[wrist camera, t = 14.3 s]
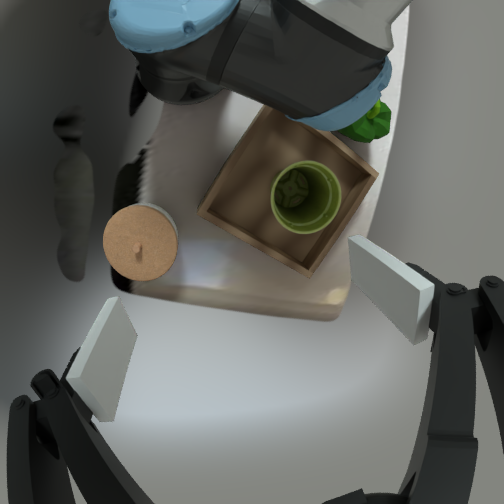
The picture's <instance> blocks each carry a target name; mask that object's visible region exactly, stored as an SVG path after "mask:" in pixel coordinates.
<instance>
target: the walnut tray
mask: <svg viewBox="0 0 504 504" xmlns="http://www.w3.org/2000/svg"><path fill="white" fill-rule="evenodd" d="M299 161H315V162H318V163H321V164H323V165H325V166H326V167H328V168H329V169H330V170H331V171H332V172H333V173H334V174H335V176H336V177H337V179H338V181H339V184H340V187H341V203H340V207H339V210H338V212H337V214H336V216H335V217H334V219H333V220H332V221H331V222H330V223H329V224H328V225H327V226H326V227H324V228H323V229H321V230H319V231H317V232H314V233H310V234H298V233H295V232H292V231H290V230H288V229H286V228H285V227H283V226H282V225H281V224H280V223H279V222H278V220H277V219H276V217H275V215H274V213H273V211H272V207H271V192H270V186H271V182H272V179H273V178H274V176H275V175H276V174H277V173H278V172H280V171H282V170H284V169H285V168H286V167H288V166H289V165H291V164H293V163H296V162H299ZM284 175H286V173H285V174H284ZM284 175H283V176H284ZM378 175H379V173H378V172H377V171H376V170H375V169H373V168H372V167H371V166H370V165H369V164H368V163H367V162H366V161H364V160H363V159H362V158H361V157H360V156H359V155H357V154H356V153H355V152H354V151H353V150H351V149H350V148H349V147H348V146H346V145H345V144H344V143H343V142H342V141H340V140H339V139H338V138H337V137H335V136H334V135H333V134H331V133H330V132H329V131H322V130H317V129H315V128H313V127H310V126H308V125H306V124H304V123H302V122H297V121H293V120H291V119H289V118H287V117H286V116H285V114H283V113H281V112H279V111H277V110H275V109H273V108H271V107H268V106H266V105H263V107H262V108H261V109H260V111H259V112H258V114H257V115H256V117H255V118H254V120H253V121H252V123H251V124H250V126H249V127H248V129H247V130H246V132H245V133H244V135H243V136H242V138H241V139H240V141H239V142H238V144H237V145H236V147H235V148H234V150H233V151H232V153H231V155H230V156H229V158H228V159H227V161H226V162H225V164H224V166H223V167H222V169H221V170H220V172H219V173H218V175H217V177H216V178H215V180H214V182H213V183H212V185H211V186H210V188H209V190H208V191H207V193H206V195H205V196H204V198H203V200H202V201H201V203H200V205H199V206H198V210H197V215H199V216H200V217H202V218H204V219H206V220H208V221H209V222H211V223H213V224H215V225H216V226H218V227H220V228H222V229H223V230H225V231H227V232H229V233H231V234H232V235H234V236H236V237H238V238H239V239H241V240H243V241H245V242H246V243H248V244H250V245H252V246H253V247H255V248H257V249H259V250H261V251H262V252H264V253H266V254H268V255H269V256H271V257H273V258H275V259H276V260H278V261H280V262H282V263H283V264H285V265H287V266H289V267H290V268H292V269H294V270H296V271H297V272H299V273H301V274H303V275H304V276H306V277H308V278H310V277H311V276H312V275H313V273H314V272H315V270H316V269H317V267H318V266H319V265H320V263H321V262H322V260H323V259H324V257H325V256H326V255H327V253H328V252H329V250H330V249H331V247H332V246H333V244H334V243H335V241H336V240H337V239H338V237H339V236H340V234H341V233H342V231H343V230H344V228H345V227H346V225H347V224H348V222H349V221H350V219H351V217H352V216H353V214H354V213H355V211H356V210H357V208H358V207H359V205H360V204H361V202H362V200H363V199H364V197H365V196H366V194H367V193H368V191H369V189H370V188H371V186H372V185H373V183H374V181H375V180H376V178H377V177H378ZM300 179H301V180H302V183H303V184H305V182H304V180H303V178H302V177H300ZM289 190H292V188H291V187H289ZM274 195H275V196H276V198H277V199H278V200H279V197H278V196H277V194H276V192H275V193H274ZM299 201H300V198H299V199H298V200H296V201H294V202H293V204H294V203H297V202H299Z"/></svg>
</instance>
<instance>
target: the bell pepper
mask: <svg viewBox="0 0 504 504" xmlns="http://www.w3.org/2000/svg"><path fill="white" fill-rule="evenodd" d="M390 120H391V110H390V109H389V108H388V106H387V105H386V104H385V103H383V102H381V101H380V98H379V100H378V101H377V102H376V104H375V105H374V106H373V107H372V108H371V109H370V110H369V111H368V112H367V113H366V114H365V115H363V116H362V117H361V118H360V119H358V120H357V121H355V122H354V123H352V124H351V125H349V126H347V127H344V128H342V129H339V130H338V132H340V133H341V134H343V135H345V136H347V137H348V138H350V139H352V140H355V141H358V142H364V143H370V142H371V141H372V140H373V139H379V138H381V137H383V136H385V135H387V134H388V133H389V130H390Z"/></svg>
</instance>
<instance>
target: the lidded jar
mask: <svg viewBox="0 0 504 504" xmlns="http://www.w3.org/2000/svg"><path fill="white" fill-rule="evenodd" d="M103 246H104V251H105V254H106V257H107V259H108V261H109V263H110V264H111V265H112V267H113V268H114V269H115V270H116V271H117V272H119V273H120V274H121V275H123V276H125V277H127V278H129V279H132V280H136V281H150V280H153V279H156V278H158V277H160V276H162V275H163V274H165V273H166V272H167V271H168V270H169V269H170V267H171V266H172V264H173V263H174V261H175V258H176V255H177V250H178V231H177V227H176V225H175V222H174V220H173V219H172V217H171V216H170V215H169V214H168V213H167V212H166V211H165V210H164V209H163V208H161V207H159V206H157V205H154V204H150V203H137V204H133V205H130V206H128V207H126V208H124V209H122V210H120V211H118V212H117V213H116V214H115V215H114V216H113V217H112V218H111V219H110V220H109V222H108V223H107V225H106V228H105V231H104V235H103Z"/></svg>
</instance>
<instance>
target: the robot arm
mask: <svg viewBox="0 0 504 504" xmlns="http://www.w3.org/2000/svg"><path fill="white" fill-rule="evenodd" d="M412 1H413V0H111V3H110V7H109V20H110V23H111V26H112V28H113V29H114V31H115V35H116V37H117V39H118V41H119V42H121V44H122V45H124V46H125V47H126V48H127V49H128V50H129V51H130V52H131V53H132V54H133V56H134V57H135V58H136V72H137V75H138V78H139V80H140V82H141V84H142V85H143V86H144V88H145V89H146V90H147V91H148V92H149V93H151V94H152V95H153V96H154V97H156V98H157V99H160V100H161V101H164V102H167V103H171V104H177V105H188V104H194V103H198V102H202V101H204V100H207V99H209V98H211V97H212V96H214V95H216V94H217V93H218V92H220V91H221V90H222V89H223V88H225V89H228V90H231V91H233V92H236V93H238V94H240V95H243V96H245V97H248V98H250V99H252V100H255V101H257V102H259V103H262V104H264V105H266V106H268V107H271V108H273V109H275V110H277V111H279V112H281V113H283V114H285V116H286V117H287V118H289V119H291V120H293V121H297V122H302V123H304V124H306V125H308V126H310V127H313V128H315V129H317V130H322V131H335V130H339V129H342V128H344V127H347V126H349V125H351V124H352V123H354V122H355V121H357V120H358V119H360V118H361V117H362V116H363V115H365V114H366V113H367V112H368V111H369V110H370V109H371V108H372V107H373V106H374V105H375V104H376V102H377V101H378V100H379V98H380V97H381V93H380V92H381V91H382V90H383V89H385V88H386V87H387V86H388V84H389V81H390V78H391V73H392V66H391V62H390V60H389V59H388V56H387V54H388V53H389V52H390V51H391V50H392V49H393V47H394V44H393V38H392V33H391V24H392V23H393V22H394V21H395V19H396V18H397V17H398V16H399V15H400V14H401V13H402V12H403V11H404V9H405V8H406V7H407V6H408V5H409V4H410V3H411V2H412ZM348 244H349V255H350V268H351V281H352V282H353V283H354V284H355V285H356V286H357V287H358V288H359V289H360V290H361V291H362V292H363V293H364V294H365V295H366V296H367V297H368V298H369V299H370V300H371V301H372V302H373V303H374V304H375V305H376V306H377V307H378V308H379V309H380V310H381V311H382V312H383V313H384V314H385V315H386V316H387V317H388V319H390V321H392V323H393V324H394V325H395V326H396V327H397V328H398V329H399V330H400V331H401V332H402V333H403V334H404V335H405V337H406V338H407V339H409V341H410V342H411V343H412V344H413V345H416V344H418V343H420V342H422V341H424V340H426V339H427V337H428V331H429V328H430V329H431V330H432V331H433V332H434V336H433V342H432V347H431V352H432V355H431V363H430V371H429V378H428V385H427V391H426V397H425V402H424V407H423V412H422V417H421V422H420V426H419V430H418V435H417V438H416V442H415V446H414V450H413V454H412V457H411V460H410V464H409V467H408V470H407V473H406V475H405V478H404V480H403V482H402V484H401V487H400V489H399V492H398V494H393V493H370V494H364V492H363V490H362V489H359V490H356V491H354V492H351V493H348V494H346V495H343V496H340V497H337V498H334V499H331V500H328V501H326V502H324V503H322V504H468V500H469V496H470V491H471V487H472V482H473V477H474V472H475V466H476V459H477V452H478V440H477V438H474V436H473V429H474V418H475V398H476V361H475V346H476V349H477V352H478V355H479V357H480V360H481V363H482V366H483V369H484V372H485V375H486V379H487V382H488V386H489V389H490V392H491V396H492V400H493V404H494V408H495V411H496V416H497V421H498V425H499V430H500V435H501V441H502V447H503V453H504V281H502V280H501V279H500V278H498V277H496V276H485V277H483V278H482V279H481V280H480V284H479V288H476V289H471V290H468V289H467V288H466V287H465V286H463V285H461V284H457V283H448V284H444V283H443V282H441V281H440V280H438V279H437V278H435V277H434V276H432V275H431V274H429V273H428V272H427V271H424V269H422V268H420V267H419V266H417V265H415V264H411V263H406V264H404V263H403V262H401V261H400V260H398V259H397V258H395V257H394V256H392V255H391V254H389V253H388V252H386V251H385V250H383V249H382V248H380V247H379V246H377V245H376V244H374V243H373V242H371V241H369V240H368V239H366V238H365V237H363V236H362V235H360V234H359V235H355V236H351V237H348ZM137 336H138V335H137V333H136V331H135V329H134V327H133V325H132V323H131V321H130V319H129V317H128V314H127V312H126V310H125V308H124V306H123V304H122V302H121V299H120V297H119V296H117V297H113V298H109V299H107V301H106V303H105V305H104V306H103V308H102V310H101V312H100V313H99V315H98V317H97V319H96V320H95V322H94V324H93V326H92V328H91V330H90V331H89V333H88V335H87V337H86V339H85V341H84V343H83V345H82V347H79V349H77V351H76V352H75V353H74V354H73V356H72V357H71V359H70V362H69V363H68V365H67V368H66V369H65V371H64V373H63V375H62V378H61V379H60V381H59V379H58V378H57V376H56V375H55V374H54V372H53V371H52V370H50V369H45V370H42V371H40V372H39V373H38V374H36V375H35V376H34V378H33V379H32V381H31V387H32V389H33V390H34V391H35V393H36V394H37V395H38V396H39V398H40V399H41V400H38V401H35V402H32V401H31V399H30V398H29V397H28V396H27V395H21V396H19V397H17V398H15V400H13V403H12V404H11V406H10V412H9V422H8V437H7V488H8V501H9V504H76V503H75V499H74V495H73V491H72V487H71V483H70V478H69V474H68V469H67V466H68V468H69V470H70V473H71V475H72V477H73V479H74V480H75V482H76V484H77V486H78V488H79V490H80V492H81V493H82V495H83V497H84V499H85V500H86V502H87V504H154V503H153V502H152V500H151V499H150V498H149V497H148V496H147V495H146V494H145V493H144V491H143V490H142V489H141V488H140V487H139V486H138V484H137V483H136V482H135V481H134V479H133V478H132V477H131V476H130V474H129V473H128V472H127V471H126V469H125V468H124V466H123V465H122V464H121V462H120V461H119V460H118V459H117V457H116V456H115V454H114V453H113V451H112V450H111V449H110V447H109V446H108V444H107V443H106V441H105V440H104V438H103V437H102V435H101V434H100V432H99V431H98V429H97V427H96V426H95V424H94V423H93V422H92V421H91V418H92V415H94V416H95V417H96V418H97V419H98V420H99V421H100V422H109V421H110V422H112V421H114V418H115V414H116V410H117V406H118V402H119V398H120V394H121V390H122V387H123V383H124V379H125V375H126V372H127V369H128V365H129V362H130V358H131V355H132V352H133V349H134V345H135V342H136V339H137Z"/></svg>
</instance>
